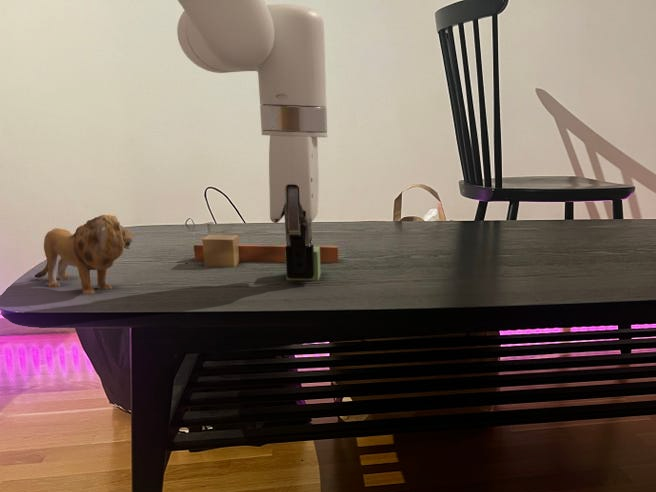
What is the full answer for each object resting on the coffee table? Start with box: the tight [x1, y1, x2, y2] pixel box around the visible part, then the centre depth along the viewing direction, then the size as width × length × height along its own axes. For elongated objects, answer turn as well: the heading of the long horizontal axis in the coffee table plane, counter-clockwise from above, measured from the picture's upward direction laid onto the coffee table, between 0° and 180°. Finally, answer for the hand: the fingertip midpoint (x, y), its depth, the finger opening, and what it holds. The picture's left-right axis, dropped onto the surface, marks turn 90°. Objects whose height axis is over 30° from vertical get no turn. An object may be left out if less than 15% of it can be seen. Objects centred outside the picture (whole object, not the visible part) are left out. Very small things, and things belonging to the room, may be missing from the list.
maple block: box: [201, 234, 241, 268], centre depth 98 cm, size 4×4×4 cm
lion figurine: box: [34, 214, 135, 295], centre depth 81 cm, size 15×5×9 cm, turn 70°
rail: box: [193, 243, 340, 264], centre depth 101 cm, size 20×1×2 cm, turn 98°
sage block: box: [285, 247, 322, 282], centre depth 91 cm, size 4×4×4 cm
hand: (301, 276), depth 88 cm, fingers closed
